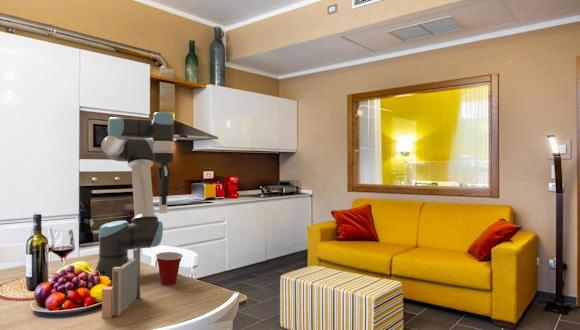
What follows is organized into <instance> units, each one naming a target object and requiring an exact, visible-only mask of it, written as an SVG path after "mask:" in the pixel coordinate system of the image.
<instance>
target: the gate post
mask: <svg viewBox="0 0 580 330" xmlns="http://www.w3.org/2000/svg"><path fill="white" fill-rule="evenodd" d="M132 254H133V256H132V257H133V258H132V259H137V297H136V298H135V299H134V300H138V299H140V298H141V249H132Z"/></svg>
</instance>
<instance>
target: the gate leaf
mask: <svg viewBox="0 0 580 330" xmlns="http://www.w3.org/2000/svg"><path fill="white" fill-rule="evenodd" d="M111 281H112V282H111V283H112V285H111V287H112V315H113V316H120V315H121V314H122V312H123V311H124V310H125V309H126V308H127V307H129V305H130V304H132V302H134V301H135V300H136V299H135V298H136V297H137V259H133V258H132V259H129V261H128V262H127V263H125V264H124V265H122V266H121V267H114V268H112V279H111Z"/></svg>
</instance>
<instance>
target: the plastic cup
mask: <svg viewBox="0 0 580 330" xmlns="http://www.w3.org/2000/svg"><path fill="white" fill-rule="evenodd" d="M155 257H156V260H157V264H158V271H159V277H160V283H161V285H163V286H172V284H173V285H175V284H177V279H178V275H179V268H180V263H181V262H182V261H181V260H182V258H183V257H184V256H183V254H182V253H179V252H174V251H164V252H159V253H156V254H155Z"/></svg>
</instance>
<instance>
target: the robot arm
mask: <svg viewBox="0 0 580 330" xmlns="http://www.w3.org/2000/svg"><path fill="white" fill-rule="evenodd" d="M152 117H153V118H152V119H150V118H149V119H148V118H147V119H144V118H132V117H131V118H129V117H109V118H108V121H107V122H108V123H107V136H105V138H103V140H101V143H100V149H101V152H102V154H104V156H106V158H108V159H110V160H112V161H115V162H125V163H126V162H127V166H128V167H129V168H130V169H131V178H132V179H131V181H132V194H133V198H132V199H133V208H134V209H133V211H134V212H133V213H134V216H133V218H132V219H131V223H129V221H127V220H115V221H111V222H107V223H103V224H102V225H101V226H99V229H98V240H99V241H98V260H97V263H96V266H95V268H94V269H95V270H94V272H95V271H97V270H98V271H99V272H100V275H101V276H107V277H109V278H111V279H110V280H112V268H114V267H121V266H122V265H124V264H125V263H127V262H128V261H130V259H129V254H128V251H130V250H133V249H140V250H141V249H151V248H155V247H158V246H160V245H161V243H162V239H163V232H164V231H163V229H164V225H163V222H162V221H160V220H159V218H158V216H157V215H156V214H155V208H154V196H153V184H152V183H153V182H152V172H151V167H153V165H154V163H158V167H157V169H156V171H157V181H158V182H157V185H158V187H157V188H158V192H157V193H158V196H157V197H158V198H159V200H158V201H159V204H158V207H159V214H168V196H169V189H170V188H169V186H170V184H169V182H170V174H171V173H170V167H169V164H168V163H174V153H173V152H174V147H175V146H176V143H174V135H175V134H174V133H175V132H174V129H175V127H174V126H175V125H174V124H175V119H174V114H173V113H171V112H166V111H165V112H164V111H158V112H154V113H153V116H152Z"/></svg>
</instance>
